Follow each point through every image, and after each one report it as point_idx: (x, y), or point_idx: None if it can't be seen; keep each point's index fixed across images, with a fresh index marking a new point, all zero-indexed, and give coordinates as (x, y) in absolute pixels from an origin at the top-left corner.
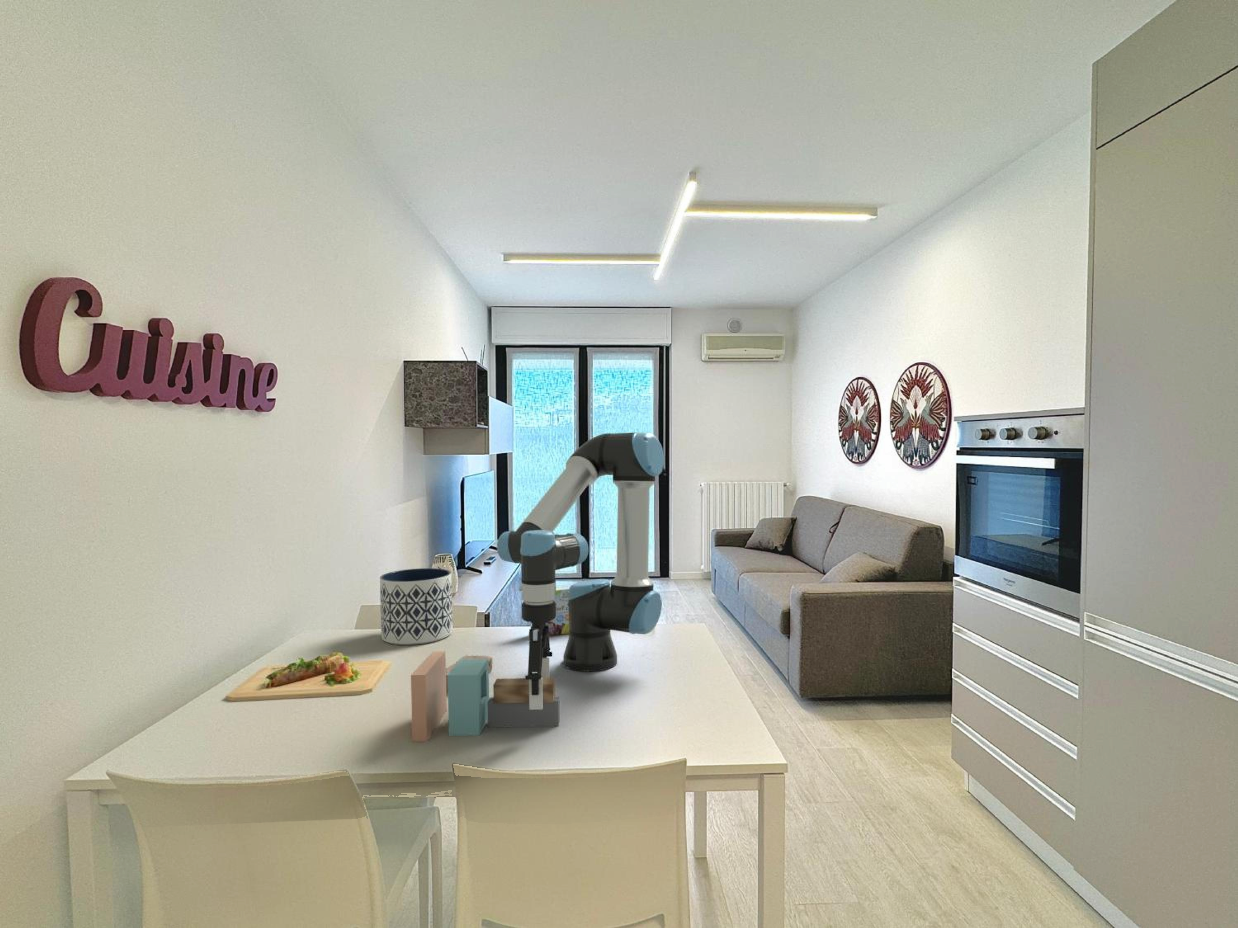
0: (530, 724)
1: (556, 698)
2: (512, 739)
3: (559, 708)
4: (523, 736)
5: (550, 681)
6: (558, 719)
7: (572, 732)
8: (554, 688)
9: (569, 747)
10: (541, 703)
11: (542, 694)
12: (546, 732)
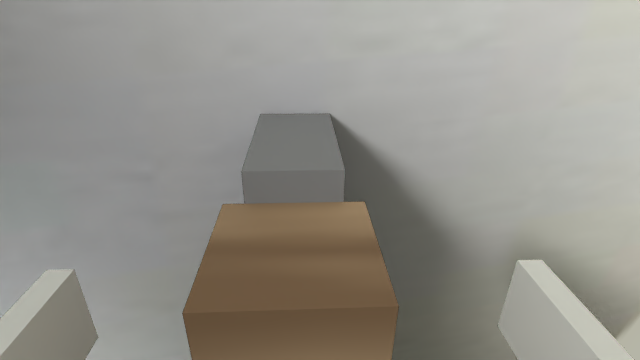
0: None
1: (285, 187)
2: (447, 281)
3: (256, 137)
4: (426, 249)
5: (306, 334)
6: (332, 124)
7: (421, 26)
8: (251, 244)
9: (603, 30)
10: (566, 292)
11: (582, 338)
12: (400, 164)
